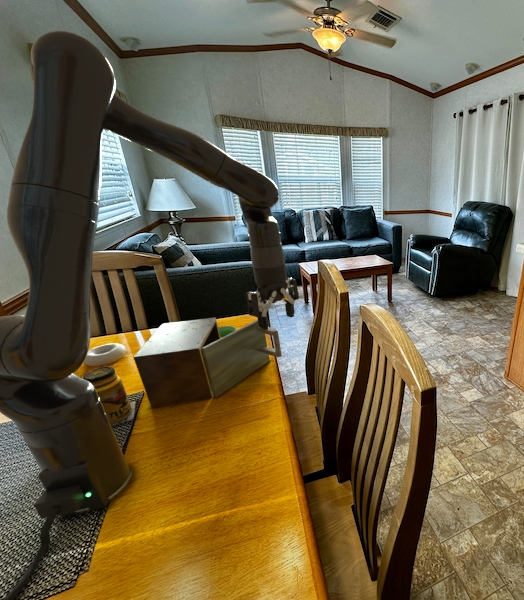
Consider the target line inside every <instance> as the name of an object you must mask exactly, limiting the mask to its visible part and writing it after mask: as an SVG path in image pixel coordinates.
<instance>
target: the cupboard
mask: <svg viewBox="0 0 524 600" xmlns="http://www.w3.org/2000/svg"><path fill="white" fill-rule="evenodd" d="M218 327H219V325H218V321H217V317H208V318H207V317H206V318H199V319H189V320H182V321H172V322H171V321H170V322H163V323H161V325H160V326H159V327H158V328H157V329H156V331H155V332H153V334H152V335H151V336H150V337H149V339H148V340H147V341H146V342H145V343H144V344H143V345H142V347H141V348H140V349H139V350H138V351H137V352H136V353H135V354H134V355H133V360H134V363H135V366H136V368H137V372H138V374H139V377H140V380H141V383H142V386H143V388H144V391H145V395H146V397H147V399H148V402H149V405H150V408H151V409H152V408H158V407H165V406H170V405H175V404H182V403H186V402H193V401H199V400H200V401H201V400H205V399H210V398H213V396H214V394H213V390H212V386H211V383H210V379H209V375H208V371H207V368H206V364H205V360H204V356H203V352H202V349H201V348H203V347H205V346H207V345H209V344H211V343H212V342H214V341H216V340H218V339H220V338H221V337H220V333H219V329H218Z"/></svg>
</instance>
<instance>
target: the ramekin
mask: <svg viewBox="0 0 524 600" xmlns="http://www.w3.org/2000/svg"><path fill="white" fill-rule="evenodd" d="M218 329H219V333H220V337H221V338H222V337H224V336H226V335H228V334H230V333H232V332H234V331H236V330H238V329H237V327H235V326H233V325H221V326H218Z"/></svg>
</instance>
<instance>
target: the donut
mask: <svg viewBox="0 0 524 600" xmlns="http://www.w3.org/2000/svg"><path fill="white" fill-rule="evenodd" d="M126 352H127V348H126V346H125V345H124V344H121V343H115V342H114V343H106V344H102V345H97V346H95V347H92V348H91V349H89V350H88V353H87V356H86V358H85V360H84V362H83V363H82V364H83V365H85V366H88V367H103V366H107V365H109V364H112V363H114V362H118V361H119V360H120V359H122V358H123V357H124V356H125V354H126Z"/></svg>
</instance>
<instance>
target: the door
mask: <svg viewBox="0 0 524 600" xmlns="http://www.w3.org/2000/svg"><path fill="white" fill-rule="evenodd" d="M267 335H268V336H272V338H273V339H272V340H273V345H274V348H272V347H268V342H267ZM201 349H202V352H203V356H204V360H205V364H206V368H207V371H208V375H209V379H210V383H211V386H212V390H213V396H214V397H215V398H217V397H219V396H221V395H222V394H223V393H225V392H226V391H228V390H229V389H231V388H232V387H234V386H236V385H237V384H238V383H240V382H241V381H242V380H244V379H245V378H247V377H248V376H250V375H251V374H253V373H255V372H256V371H257V370H259V369H260V368H261V367H264V365H266V364H267V363H269V362H271V357H270V356H272V357H276V358H281V357H282V356H283V355H282V347H281V342H280V336H279V329H277V328H272V327H269V329H267V330H264V329H261V328H260V327H259V323H258V318H257V319H255V320H253V321H252V322H250V323H248V324H246V325H244V326H242V327H240V328H238V329H237V330H236V331H234V332H232V333H230V334H228V335H226V336H224V337H222V338H220V339H218V340H216V341H214V342H212V343H211V344H209V345H207V346H205V347H203V348H201Z"/></svg>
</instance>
